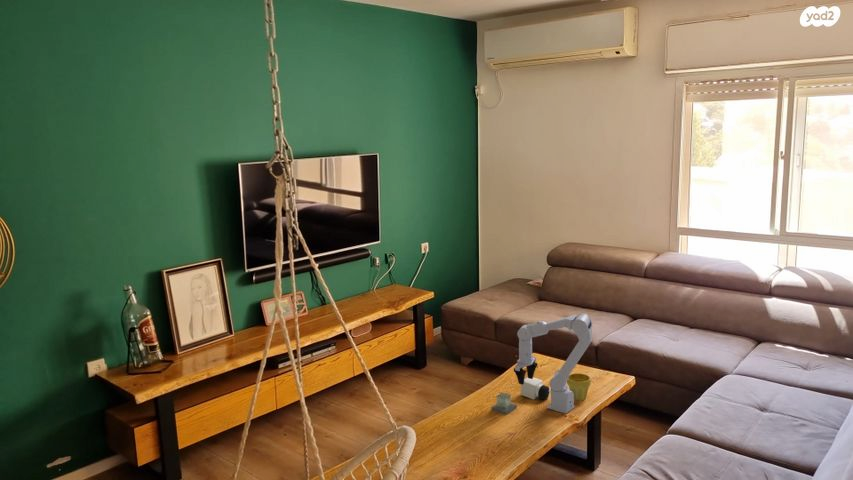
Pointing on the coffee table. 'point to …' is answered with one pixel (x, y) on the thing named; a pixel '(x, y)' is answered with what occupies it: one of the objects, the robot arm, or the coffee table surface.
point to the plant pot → (579, 385)
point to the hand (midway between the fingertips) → (525, 381)
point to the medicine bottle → (534, 389)
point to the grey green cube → (503, 400)
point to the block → (504, 411)
